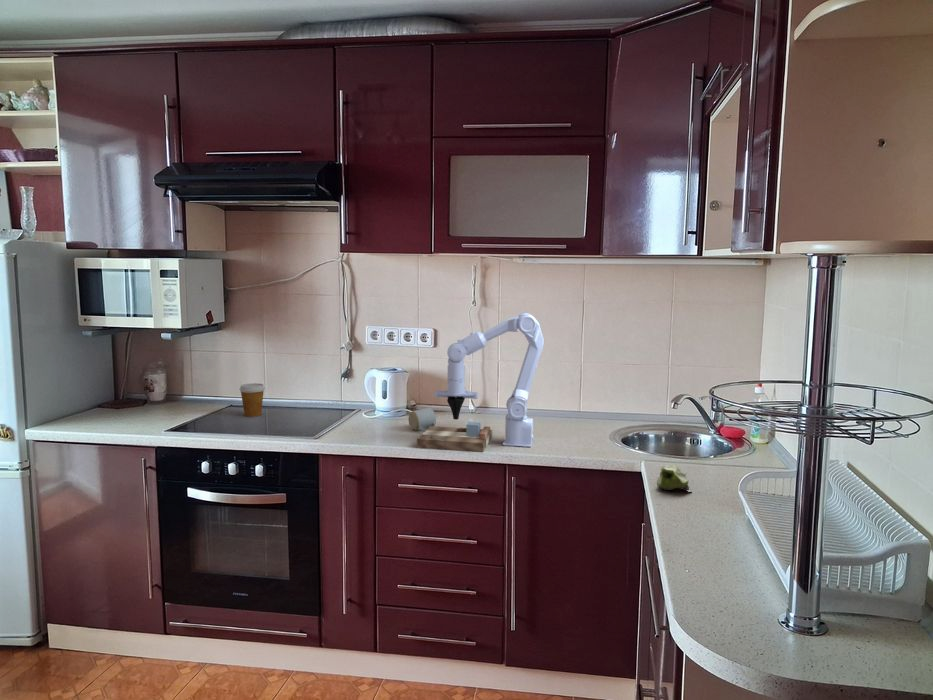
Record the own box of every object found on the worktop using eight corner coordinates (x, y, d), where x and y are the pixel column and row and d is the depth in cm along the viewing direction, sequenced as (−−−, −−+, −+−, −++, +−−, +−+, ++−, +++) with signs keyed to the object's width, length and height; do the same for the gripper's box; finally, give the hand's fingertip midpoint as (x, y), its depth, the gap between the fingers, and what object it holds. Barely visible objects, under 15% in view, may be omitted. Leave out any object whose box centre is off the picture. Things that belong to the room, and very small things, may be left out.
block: (480, 434, 223) (480, 422, 223) (478, 437, 219) (478, 425, 219) (468, 433, 224) (468, 421, 223) (466, 436, 220) (466, 424, 219)
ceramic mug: (407, 428, 242) (407, 408, 241) (426, 425, 247) (426, 405, 246) (421, 435, 233) (421, 414, 232) (441, 432, 238) (441, 411, 237)
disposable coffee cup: (261, 411, 268) (260, 382, 266) (268, 415, 260) (267, 386, 258) (237, 414, 262) (236, 384, 261) (244, 418, 255) (243, 388, 253)
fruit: (670, 501, 173) (665, 472, 172) (651, 492, 182) (646, 465, 181) (700, 492, 175) (695, 463, 174) (680, 484, 184) (675, 456, 183)
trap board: (491, 438, 230) (492, 424, 229) (483, 452, 212) (483, 436, 212) (430, 434, 234) (430, 420, 233) (417, 447, 216) (417, 432, 216)
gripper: (479, 377, 223) (479, 417, 225) (437, 376, 226) (437, 415, 227) (475, 381, 216) (475, 421, 218) (432, 379, 219) (432, 419, 220)
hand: (456, 418), depth 222 cm, fingers closed
